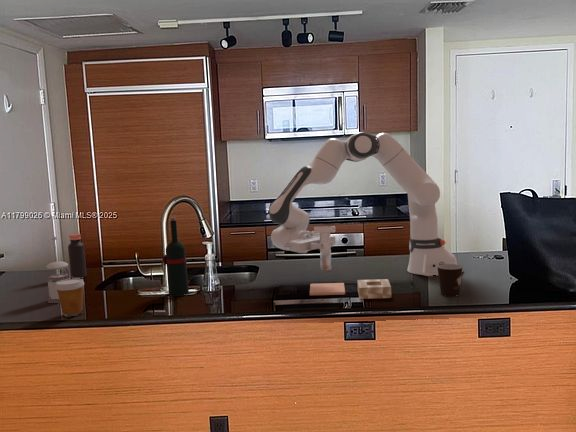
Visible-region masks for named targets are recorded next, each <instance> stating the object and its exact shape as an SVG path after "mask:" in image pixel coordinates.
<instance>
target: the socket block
mask: <svg viewBox="0 0 576 432" xmlns="http://www.w3.org/2000/svg"><path fill="white" fill-rule="evenodd" d="M357 293H358V297H359V299H360V300H361V299H363V300H364V299H366V300H368V299H369V300H370V299H392V286H391V284H390V280H389V279H388V278H385V279H384V278H382V279H357Z"/></svg>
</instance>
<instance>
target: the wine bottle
mask: <svg viewBox="0 0 576 432" xmlns="http://www.w3.org/2000/svg"><path fill="white" fill-rule="evenodd" d="M170 231H171V233H170V234H171V242H169V243H168V244H167V245H166V247H165V254H164V255H163V256H162V263H163V279H162V282H161V283H164V281H165V278H166V277H167V286H168V288H167V289H168V296H170V295H171V296H170V297H181V296H180V295H183V296H185V295H184V294H187V293H188V292H189V293H190V291H189V280H188V279H189V277H188V267H187V265H188V263H187V255H186V252H187V251H186V246H185V245H184V244H183V243H182V242H181V241H179V239H178V225H177V220H176V216H171V217H170ZM166 273H167V275H166ZM189 293H188V294H189ZM188 294H187V295H188Z"/></svg>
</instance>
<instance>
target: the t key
mask: <svg viewBox="0 0 576 432" xmlns="http://www.w3.org/2000/svg"><path fill="white" fill-rule="evenodd" d="M313 231H314V233H320V244H323V249H319V252H320V254H319V257H320V270H323V271H328V270H331V269H332V249H331V248H332V247H331V242H330V235H331V233H336V231H337V230H336V226H335V225H333V226H332V225H329V226H314V227H313Z"/></svg>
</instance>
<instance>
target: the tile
mask: <svg viewBox="0 0 576 432" xmlns="http://www.w3.org/2000/svg"><path fill="white" fill-rule="evenodd" d="M309 285H310V286H309V287H310V288H309V296H331V295H332V296H335V295H336V296H337V295H340V296H341V295H346V289H345V283H344V282H334V283H333V282H328V283H327V282H325V283H310V284H309Z"/></svg>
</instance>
